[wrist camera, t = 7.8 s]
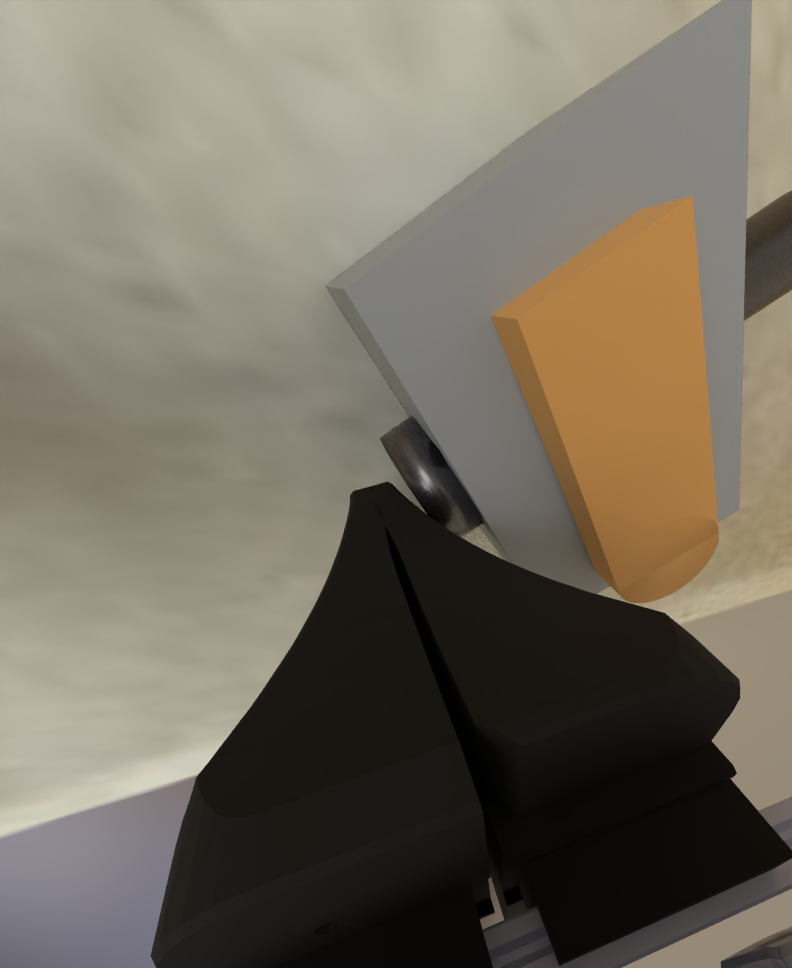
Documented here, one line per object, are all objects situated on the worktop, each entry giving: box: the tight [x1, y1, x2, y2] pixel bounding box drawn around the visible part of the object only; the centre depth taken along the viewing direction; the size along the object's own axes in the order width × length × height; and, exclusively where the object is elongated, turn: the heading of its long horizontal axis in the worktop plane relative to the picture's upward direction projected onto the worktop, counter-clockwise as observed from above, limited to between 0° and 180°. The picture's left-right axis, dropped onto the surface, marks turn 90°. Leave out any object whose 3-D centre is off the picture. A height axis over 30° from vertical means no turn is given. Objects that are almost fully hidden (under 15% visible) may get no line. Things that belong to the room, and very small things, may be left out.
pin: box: [380, 191, 792, 537], centre depth 9 cm, size 11×3×3 cm, turn 122°
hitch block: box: [326, 0, 752, 594], centre depth 9 cm, size 10×6×5 cm, turn 32°
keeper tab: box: [491, 196, 719, 603], centre depth 7 cm, size 8×3×1 cm, turn 32°
